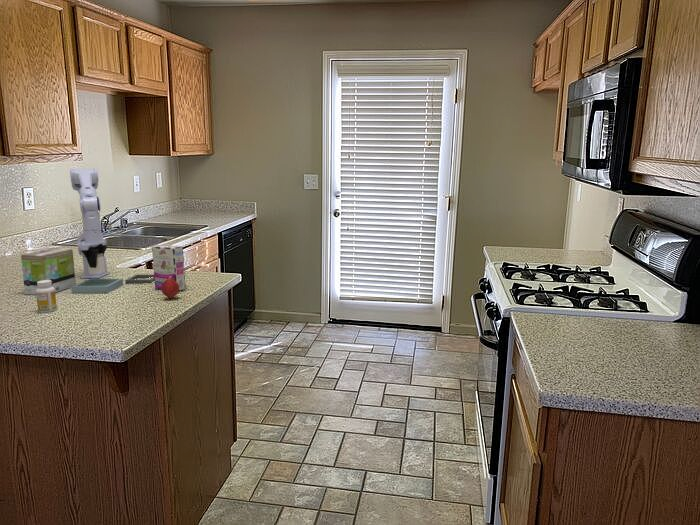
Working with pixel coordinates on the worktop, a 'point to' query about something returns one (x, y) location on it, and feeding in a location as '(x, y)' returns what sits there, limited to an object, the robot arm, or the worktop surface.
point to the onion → (170, 288)
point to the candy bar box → (168, 265)
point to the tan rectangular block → (98, 265)
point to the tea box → (48, 269)
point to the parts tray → (97, 286)
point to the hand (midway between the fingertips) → (96, 266)
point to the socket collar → (132, 280)
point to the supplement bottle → (45, 296)
